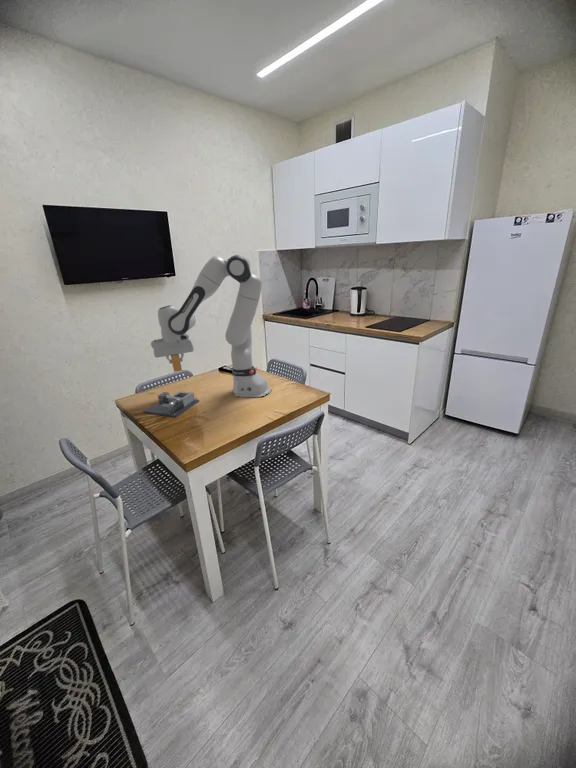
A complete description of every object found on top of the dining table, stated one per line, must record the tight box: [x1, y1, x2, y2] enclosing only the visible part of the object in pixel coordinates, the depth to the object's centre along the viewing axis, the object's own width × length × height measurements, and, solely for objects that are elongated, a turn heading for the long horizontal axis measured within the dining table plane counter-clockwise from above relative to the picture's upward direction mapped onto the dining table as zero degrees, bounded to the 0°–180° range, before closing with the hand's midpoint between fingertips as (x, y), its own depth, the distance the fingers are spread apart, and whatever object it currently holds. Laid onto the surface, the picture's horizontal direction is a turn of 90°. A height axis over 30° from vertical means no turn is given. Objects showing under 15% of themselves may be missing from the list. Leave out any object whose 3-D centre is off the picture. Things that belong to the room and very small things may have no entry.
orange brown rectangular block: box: [170, 354, 183, 373], centre depth 172 cm, size 4×4×9 cm
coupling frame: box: [142, 390, 200, 418], centre depth 162 cm, size 20×19×6 cm
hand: (176, 362), depth 172 cm, fingers closed on orange brown rectangular block, 4 cm apart
